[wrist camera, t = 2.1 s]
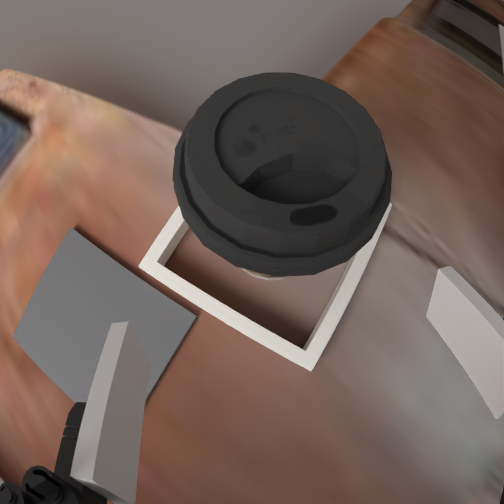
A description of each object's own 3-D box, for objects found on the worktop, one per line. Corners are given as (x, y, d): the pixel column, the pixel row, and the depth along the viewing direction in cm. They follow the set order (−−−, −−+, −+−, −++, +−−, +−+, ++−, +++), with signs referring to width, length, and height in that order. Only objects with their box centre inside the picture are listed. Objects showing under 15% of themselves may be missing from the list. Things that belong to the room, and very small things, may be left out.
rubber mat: (197, 316, 25) (196, 315, 25) (124, 438, 22) (121, 440, 22) (73, 228, 28) (71, 226, 27) (16, 337, 24) (12, 337, 24)
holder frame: (384, 212, 28) (392, 204, 26) (306, 368, 24) (311, 371, 22) (240, 136, 30) (239, 125, 28) (145, 271, 26) (138, 266, 24)
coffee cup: (219, 316, 25) (174, 291, 11) (198, 195, 28) (157, 78, 14) (347, 288, 26) (442, 234, 11) (315, 174, 29) (355, 56, 14)
